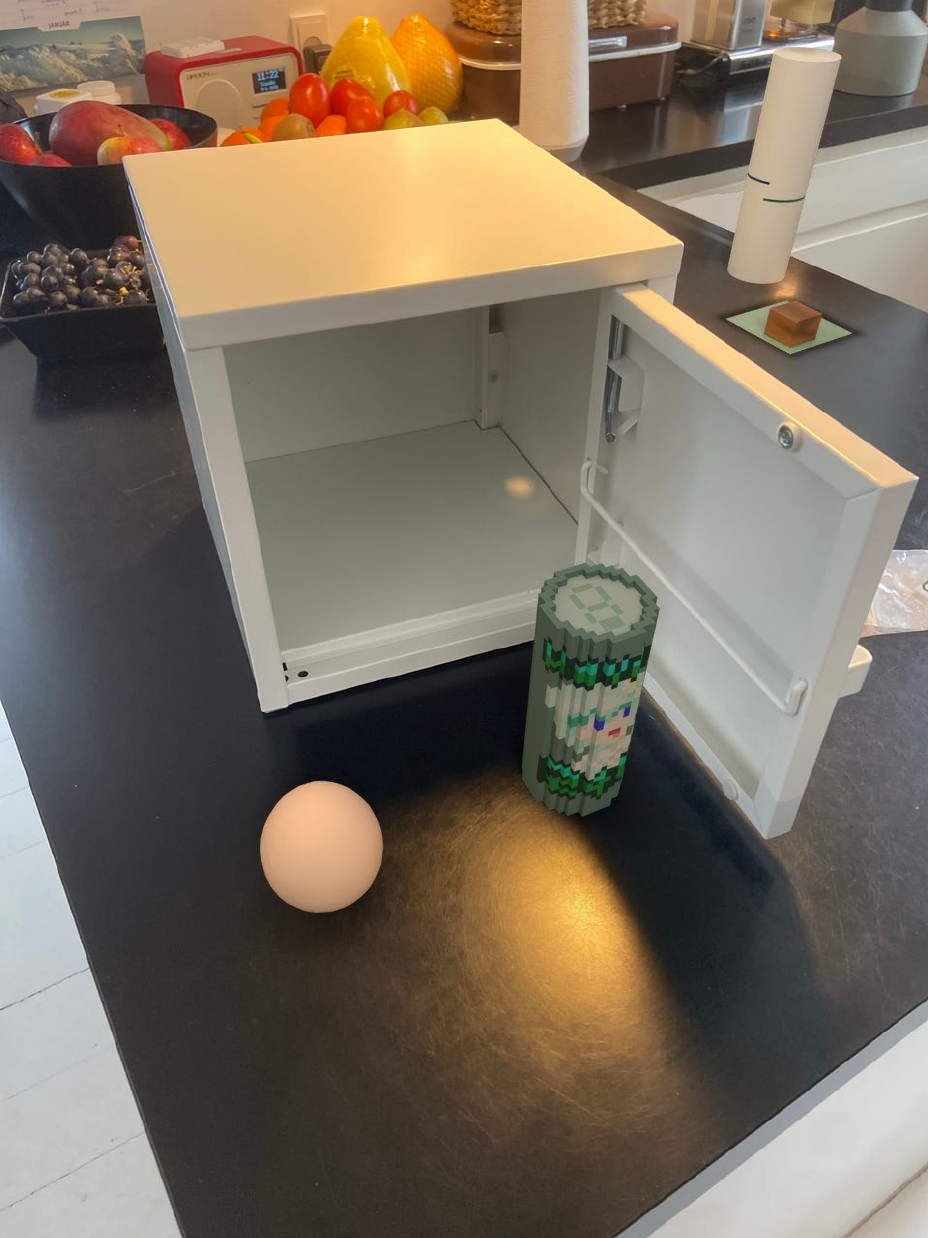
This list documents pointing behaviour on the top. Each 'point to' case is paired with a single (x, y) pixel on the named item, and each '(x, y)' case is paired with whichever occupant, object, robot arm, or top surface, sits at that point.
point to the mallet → (803, 10)
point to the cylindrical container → (782, 161)
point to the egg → (321, 847)
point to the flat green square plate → (756, 326)
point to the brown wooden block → (792, 323)
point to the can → (585, 685)
